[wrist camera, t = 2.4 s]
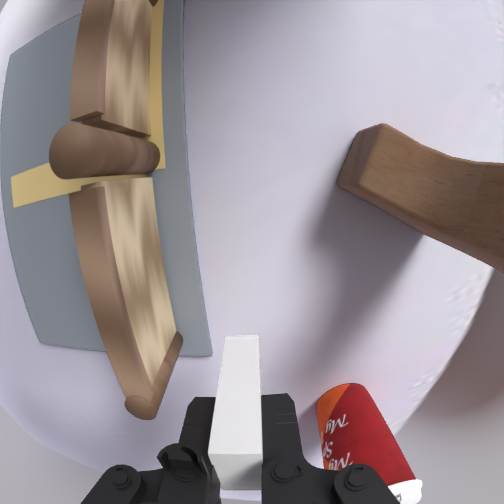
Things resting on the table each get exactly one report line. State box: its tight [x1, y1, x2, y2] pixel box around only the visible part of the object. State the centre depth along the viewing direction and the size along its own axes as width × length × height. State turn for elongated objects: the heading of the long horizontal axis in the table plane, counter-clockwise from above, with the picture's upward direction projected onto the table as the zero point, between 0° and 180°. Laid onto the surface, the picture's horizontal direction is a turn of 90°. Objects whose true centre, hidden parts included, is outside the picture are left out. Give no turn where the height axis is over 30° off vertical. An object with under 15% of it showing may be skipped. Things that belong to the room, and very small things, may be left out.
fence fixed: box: [49, 0, 160, 179], centre depth 11 cm, size 16×2×9 cm, turn 5°
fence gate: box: [68, 177, 183, 420], centre depth 16 cm, size 14×2×8 cm, turn 5°
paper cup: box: [317, 383, 422, 504], centre depth 17 cm, size 8×8×14 cm
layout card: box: [0, 0, 213, 356], centre depth 18 cm, size 32×20×1 cm, turn 5°
